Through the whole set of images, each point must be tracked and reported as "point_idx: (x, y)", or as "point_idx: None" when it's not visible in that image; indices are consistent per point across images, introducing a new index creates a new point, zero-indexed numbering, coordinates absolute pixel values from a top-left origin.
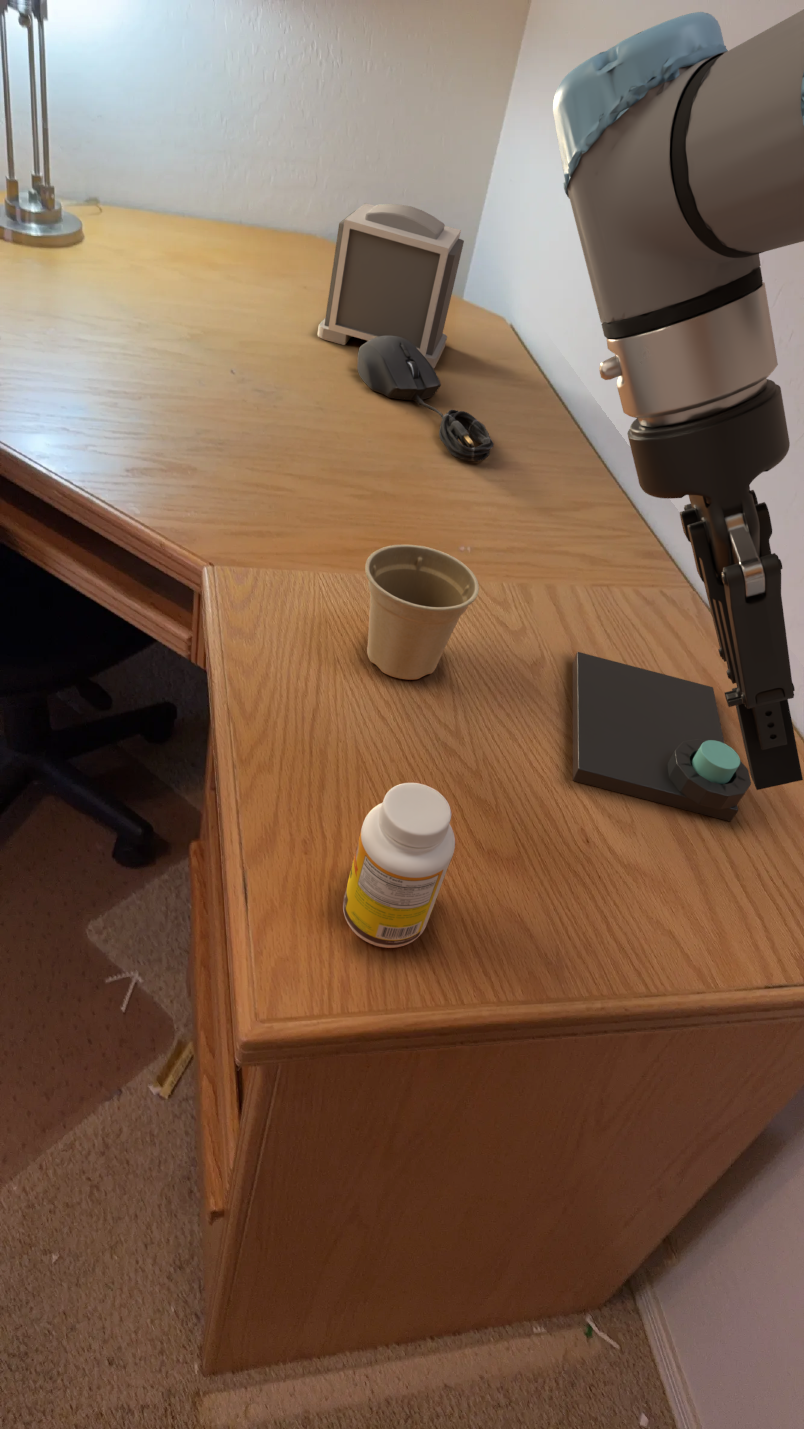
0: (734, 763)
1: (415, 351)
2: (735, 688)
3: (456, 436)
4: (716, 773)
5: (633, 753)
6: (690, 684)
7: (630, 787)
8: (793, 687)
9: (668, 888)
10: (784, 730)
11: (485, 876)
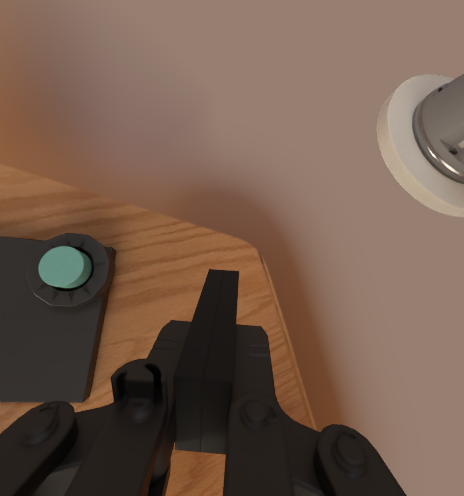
0: (74, 254)
1: None
2: (177, 444)
3: None
4: (86, 271)
5: (49, 340)
6: None
7: (96, 343)
8: (363, 456)
9: None
10: (266, 346)
11: (219, 476)
